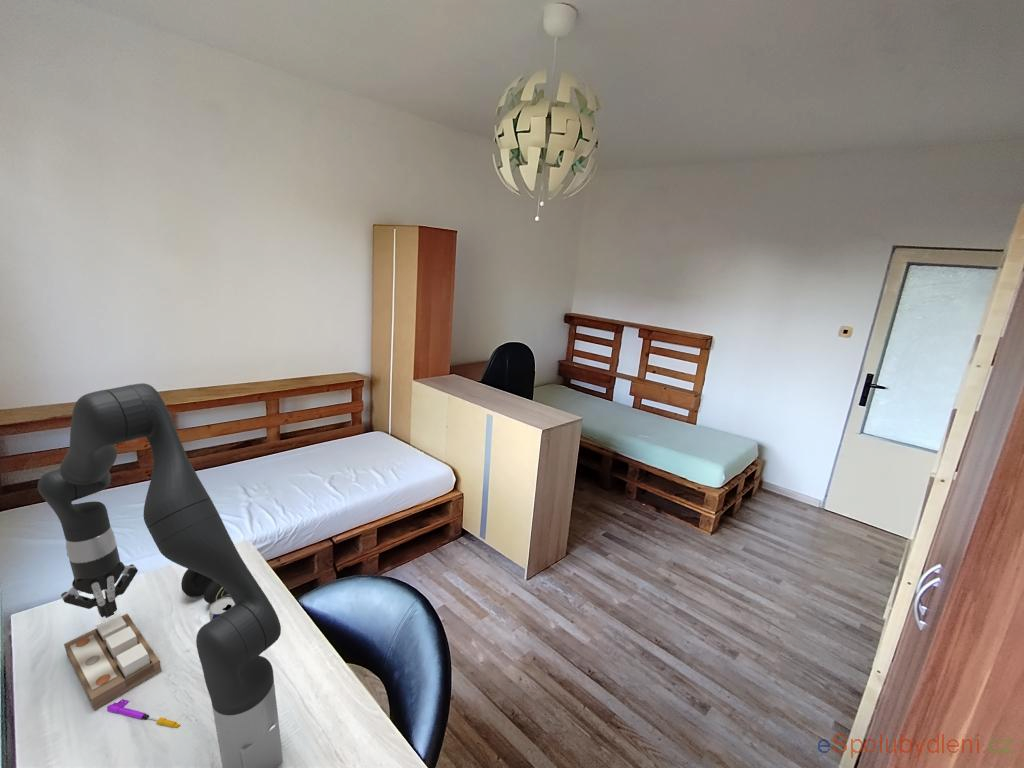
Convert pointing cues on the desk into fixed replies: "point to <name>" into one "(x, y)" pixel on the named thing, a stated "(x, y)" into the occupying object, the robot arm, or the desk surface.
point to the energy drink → (220, 607)
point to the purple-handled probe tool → (138, 714)
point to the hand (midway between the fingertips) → (109, 614)
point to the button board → (106, 666)
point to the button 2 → (133, 660)
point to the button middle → (121, 641)
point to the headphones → (202, 587)
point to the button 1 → (111, 627)
